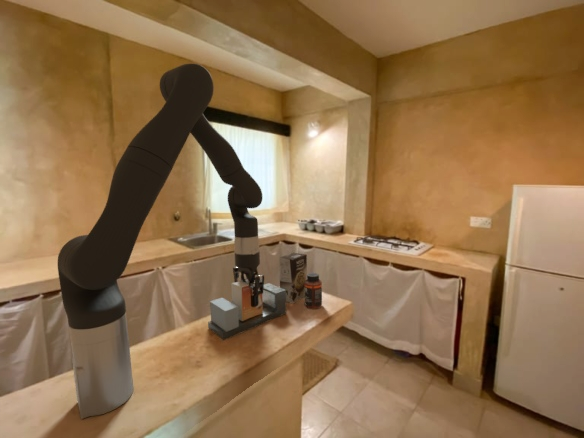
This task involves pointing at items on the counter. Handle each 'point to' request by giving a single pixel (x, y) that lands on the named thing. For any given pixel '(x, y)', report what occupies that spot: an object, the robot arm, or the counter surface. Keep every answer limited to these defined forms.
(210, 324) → the vise bed
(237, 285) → the small box
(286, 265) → the coffee box
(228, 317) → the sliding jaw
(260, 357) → the counter surface
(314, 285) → the supplement bottle
